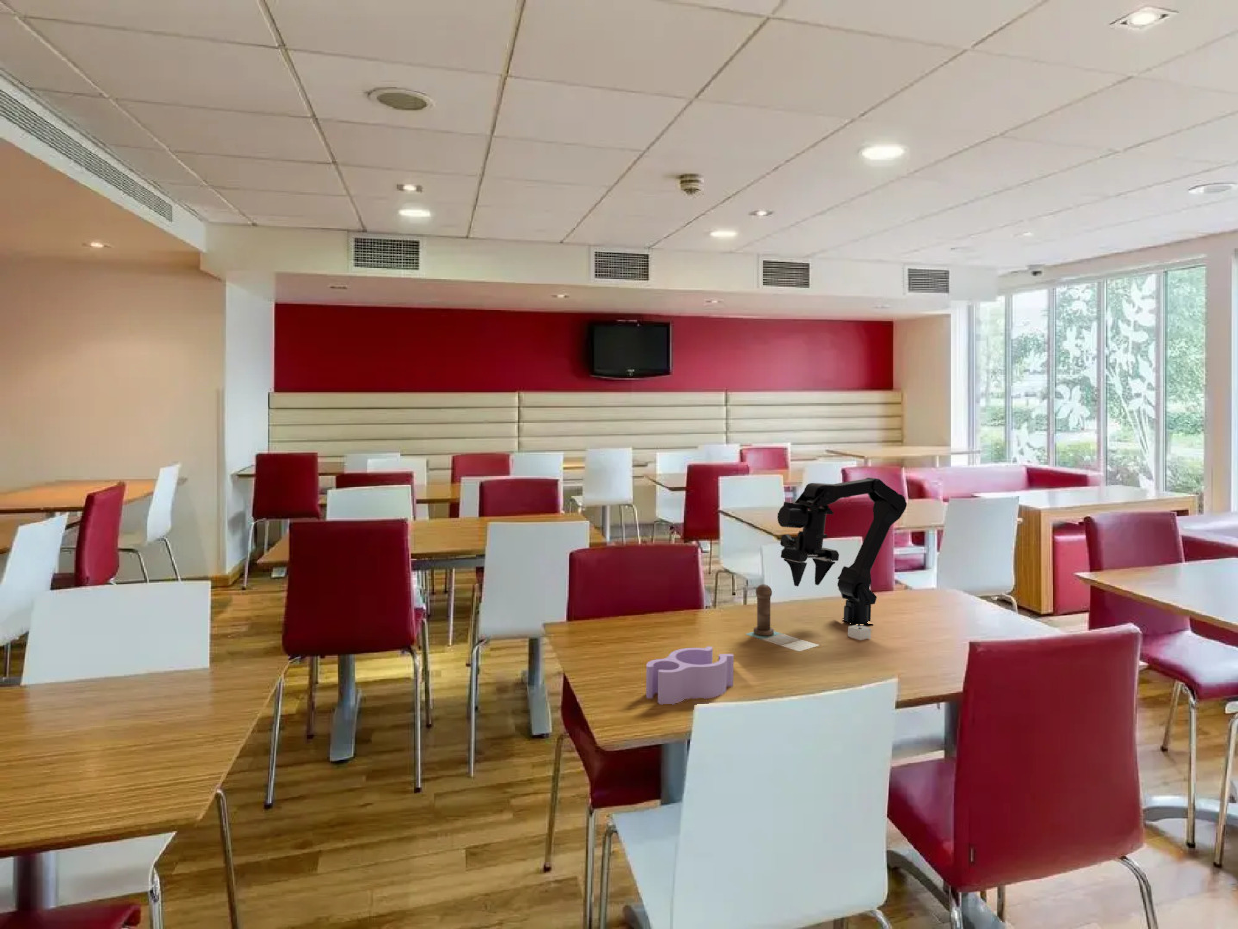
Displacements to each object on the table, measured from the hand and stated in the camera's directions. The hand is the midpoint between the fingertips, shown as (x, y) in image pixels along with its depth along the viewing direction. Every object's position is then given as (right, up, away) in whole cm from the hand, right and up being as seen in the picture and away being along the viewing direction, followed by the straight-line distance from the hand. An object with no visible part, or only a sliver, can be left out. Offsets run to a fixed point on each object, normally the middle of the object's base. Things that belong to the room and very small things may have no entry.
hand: (806, 585), depth 204 cm
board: (-10, -13, -13) cm, 21 cm away
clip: (-37, -16, -44) cm, 59 cm away
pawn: (-13, -11, -8) cm, 19 cm away
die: (+11, -13, -10) cm, 20 cm away
